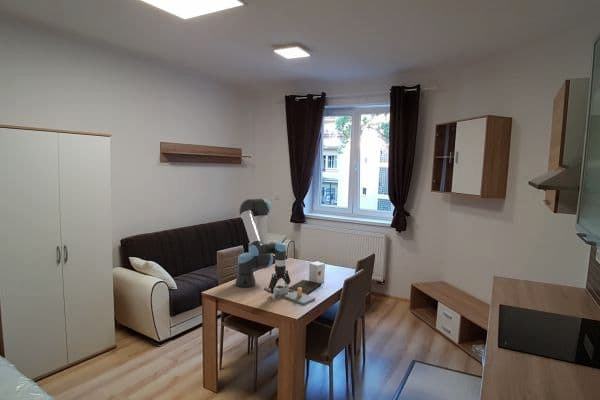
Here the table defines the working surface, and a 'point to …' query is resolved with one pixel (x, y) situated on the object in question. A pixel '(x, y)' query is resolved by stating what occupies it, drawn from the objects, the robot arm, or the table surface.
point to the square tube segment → (280, 291)
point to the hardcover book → (305, 286)
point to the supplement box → (316, 272)
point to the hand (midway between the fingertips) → (279, 295)
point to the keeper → (299, 297)
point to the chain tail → (267, 289)
